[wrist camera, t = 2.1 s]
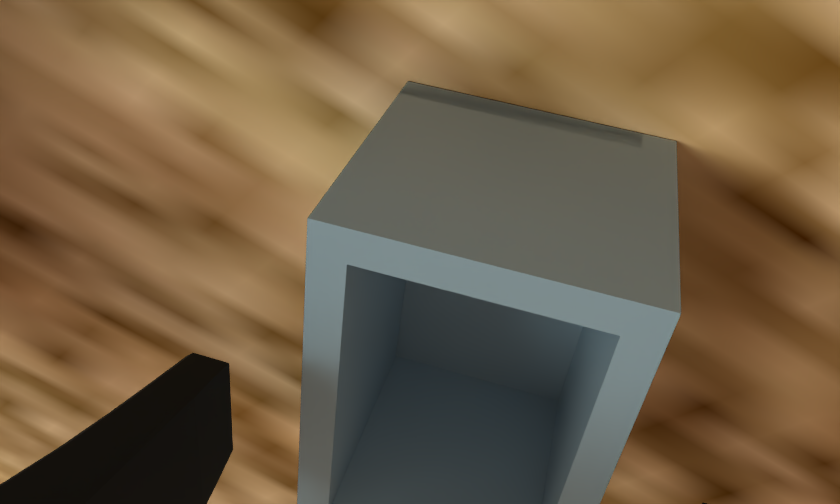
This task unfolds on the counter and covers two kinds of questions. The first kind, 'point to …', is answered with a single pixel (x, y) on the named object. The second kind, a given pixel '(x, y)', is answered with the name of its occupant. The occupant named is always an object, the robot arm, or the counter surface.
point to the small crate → (484, 305)
